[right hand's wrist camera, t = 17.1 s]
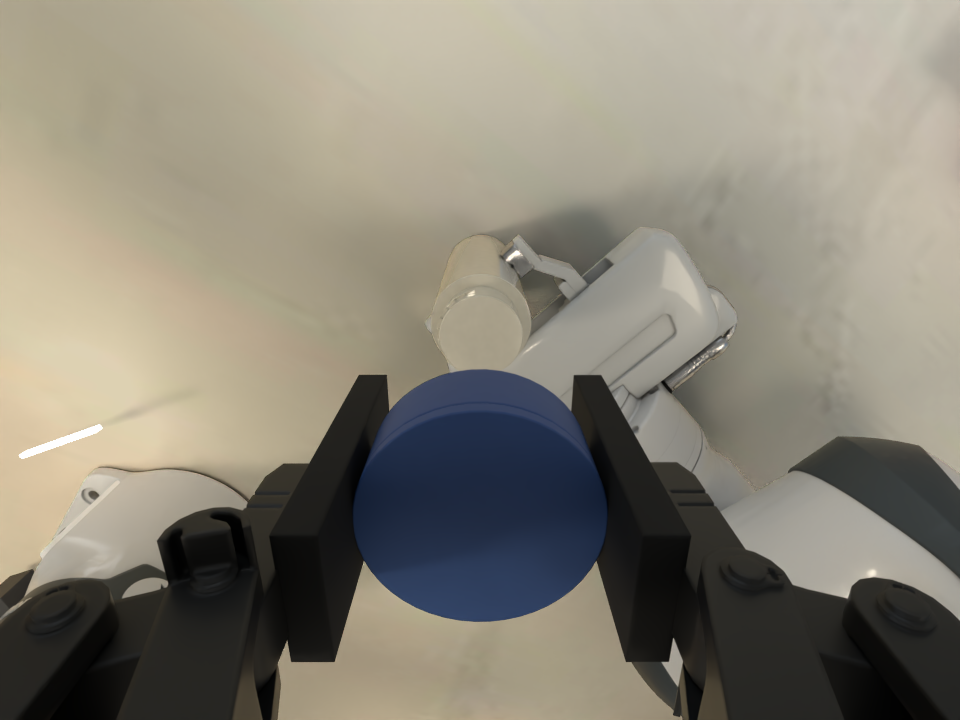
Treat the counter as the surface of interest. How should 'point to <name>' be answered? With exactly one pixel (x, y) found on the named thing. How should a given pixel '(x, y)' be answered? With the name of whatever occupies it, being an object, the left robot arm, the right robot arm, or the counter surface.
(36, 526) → the counter surface
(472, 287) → the cream bottle
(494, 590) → the lid
